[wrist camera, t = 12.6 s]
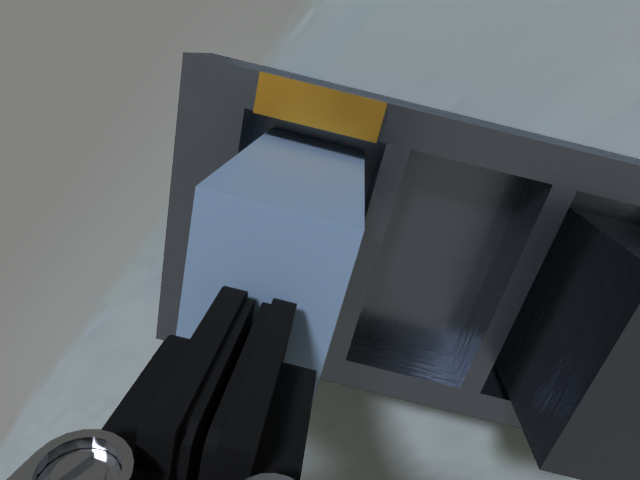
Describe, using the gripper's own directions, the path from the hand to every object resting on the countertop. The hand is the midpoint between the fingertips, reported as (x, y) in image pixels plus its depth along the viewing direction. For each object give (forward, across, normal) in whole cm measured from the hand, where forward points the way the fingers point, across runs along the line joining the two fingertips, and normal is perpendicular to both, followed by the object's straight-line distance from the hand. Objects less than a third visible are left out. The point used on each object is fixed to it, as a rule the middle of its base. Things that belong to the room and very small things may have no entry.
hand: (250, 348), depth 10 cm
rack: (+9, -5, 0) cm, 11 cm away
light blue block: (+8, 0, 0) cm, 8 cm away
